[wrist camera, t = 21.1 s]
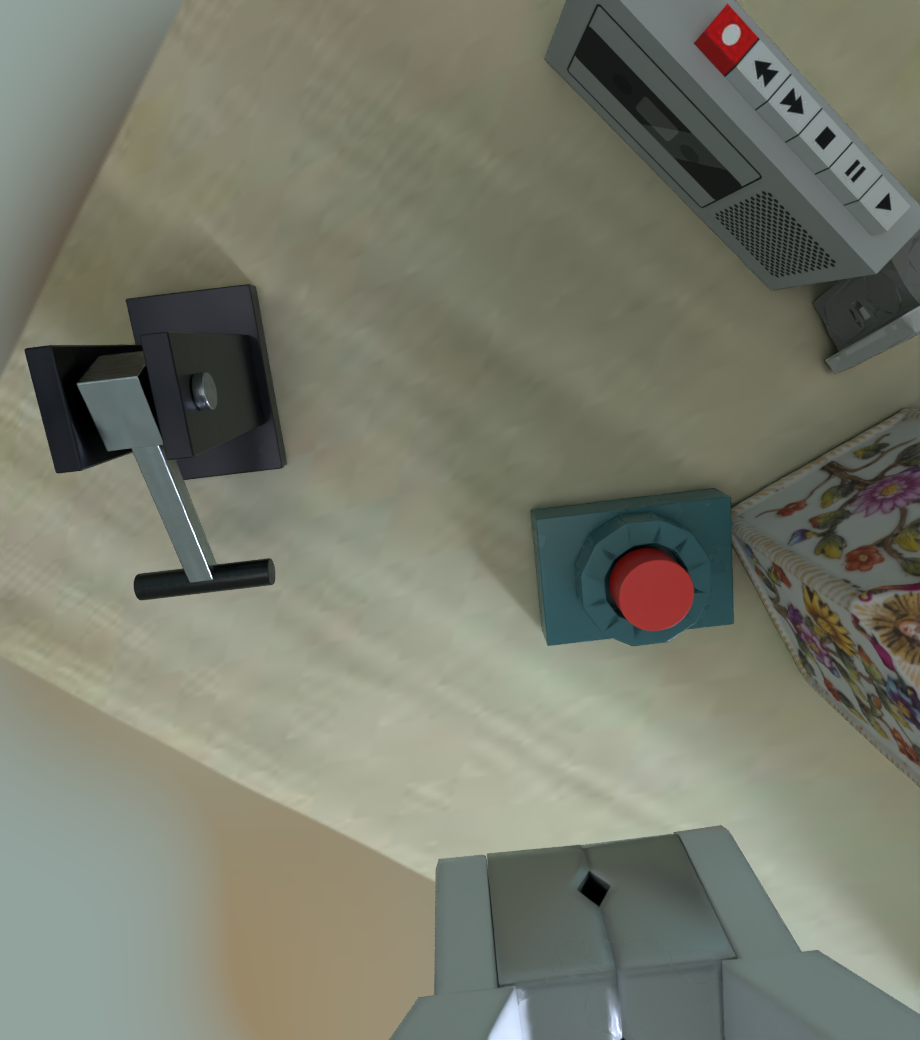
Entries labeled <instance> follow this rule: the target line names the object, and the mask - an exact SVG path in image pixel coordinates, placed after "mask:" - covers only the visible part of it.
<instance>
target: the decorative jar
mask: <svg viewBox="0 0 920 1040" xmlns="http://www.w3.org/2000/svg"><path fill="white" fill-rule="evenodd" d="M731 533H732V545H733V547H734V548H735V550H736V552H737V554H738V556H739V558H740V559H741V561H742V563H743V565H744V567H745V568H746V571H747V573H748V574H749V577H750V579H751V581H752V582H753V584H754V586H755V587H756V589H757V591H758V594H759V596H760V598H761V599H762V602H763V604H764V606H765V607H766V609H767V611H768V612H769V615H770V616H771V618H772V620H773V622H774V624H775V626H776V628H777V629H778V631H779V633H780V635H781V636H782V638H783V640H784V642H785V644H786V646H787V648H788V649H789V651H790V653H791V655H792V657H793V659H794V661H795V663H796V665H797V666H798V668H799V670H800V672H801V674H802V675H803V677H804V678H805V679H806V681H807V682H808V683H809V684H810V685H811V687H812V688H814V690H815V691H817V693H818V694H820V695H821V697H823V698H824V699H825V700H826V701H827V702H828V703H829V704H830V705H831V706H832V707H833V708H834V709H835V710H836V711H837V712H838V713H840V715H841V716H842V717H844V718H845V719H846V720H847V721H848V722H849V723H850V724H851V725H852V726H853V727H854V728H855V729H856V730H858V732H859V733H860V734H862V735H863V736H864V737H865V738H866V739H867V740H868V741H869V742H870V743H871V744H872V745H873V746H874V747H875V748H876V749H878V750H879V751H880V752H881V753H882V754H883V755H884V756H885V757H886V758H887V759H888V760H889V761H891V762H892V763H893V764H894V765H895V766H896V767H897V768H898V769H900V770H901V771H902V772H903V773H904V774H905V775H907V776H908V777H909V778H910V779H911V780H912V781H913V782H915V783H916V784H917V785H918V786H919V787H920V410H914V409H910V408H904V409H902V410H901V411H900V412H898V413H897V414H895V415H893V416H892V417H890V418H888V419H886V420H884V421H882V422H881V423H880V424H878V425H876V426H874V427H872V428H871V429H869V430H867V431H865V432H863V433H861V434H859V435H858V436H856V437H854V438H853V439H851V440H849V441H847V442H846V443H844V444H842V445H840V446H838V447H837V448H835V449H833V450H831V451H829V452H827V453H826V454H824V455H822V456H821V457H819V458H818V459H816V460H814V461H812V462H811V463H809V464H807V465H805V466H803V467H801V468H800V469H798V470H796V471H794V472H792V473H790V474H788V475H786V476H784V477H783V478H782V479H780V480H778V481H776V482H775V483H773V484H771V485H770V486H768V487H766V488H764V489H763V490H761V491H759V492H758V493H756V494H755V495H753V496H751V497H750V498H748V499H746V500H744V501H743V502H741V503H739V504H737V505H736V506H734V507H732V508H731Z"/></svg>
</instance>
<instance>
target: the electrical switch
mask: <svg viewBox="0 0 920 1040" xmlns="http://www.w3.org/2000/svg"><path fill="white" fill-rule="evenodd" d="M913 239H914V240H913ZM912 241H913V242H912ZM812 304H813V306H814V307H815V309H816V310H817V312H818V313H819V315H820V317H821V318H822V320H823V321H824V323H825V325H826V328H827V331H828V334H829V335H830V337H831V338H832V340H833V341H834V343H835V345H836V347H837V349H838V353H836V354H834V355H833V356H831V357H829V358H828V359H826V360H825V361H826V362H827V364H828V365H829V366H830V368H831V369H832V370H833V372H834V373H835V374H836V373H838V372H841V371H844V370H846V369H849V368H851V367H854V366H856V365H858V364H860V363H862V362H864V361H866V360H868V359H870V358H872V357H874V356H876V355H878V354H880V353H882V352H884V351H886V350H888V349H890V348H892V347H894V346H896V345H898V344H900V343H902V342H904V341H906V340H908V339H910V338H912V337H914V336H916V335H918V334H920V229H919V230H918V231H917V232H916V233H915V234H914V235H913V236H912V237H911V238H910V239H909V240H908V241H907V242H906V243H905V244H904V246H903V247H902V248H901V249H900V250H899V251H898V252H897V253H896V254H895V255H894V256H893V257H892V258H891V259H890V260H889V261H888V262H887V263H886V264H885V266H884V267H883V268H882V269H881V270H880V271H879V272H878V273H877V274H873V275H867V276H860V277H854V278H848V279H841V280H840V281H839V282H838V283H837V284H835V285H834V286H833V287H832V288H830V289H829V290H828V291H827V292H825V293H824V294H823V295H822V296H821V297H819V298H818V299H817V300H816V301H814V302H813V303H812Z"/></svg>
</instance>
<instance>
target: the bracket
mask: <svg viewBox="0 0 920 1040" xmlns="http://www.w3.org/2000/svg"><path fill="white" fill-rule="evenodd" d="M126 303H127V307H128V312H129V316H130V321H131V326H132V330H133V335H134V339H135V344H136V345H49V346H41V347H33V348H26V349H25V354H26V358H27V362H28V366H29V370H30V374H31V378H32V382H33V385H34V389H35V393H36V397H37V401H38V405H39V409H40V413H41V417H42V420H43V424H44V428H45V432H46V436H47V440H48V444H49V448H50V452H51V455H52V459H53V463H54V467H55V471H56V473H66V472H75V471H82V470H85V469H88V468H91V467H93V466H96V465H99V464H102V463H105V462H107V461H110V460H113V459H116V458H119V457H121V456H124V455H127V454H130V453H133V451H132V449H123V450H114V451H107V450H106V448H105V446H104V443H103V441H102V439H101V437H100V435H99V433H98V430H97V428H96V426H95V424H94V422H93V419H92V417H91V415H90V413H89V411H88V409H87V406H86V404H85V402H84V400H83V398H82V395H81V393H80V391H79V389H78V387H77V382H78V381H79V380H80V379H81V378H82V376H83V375H84V374H85V373H86V371H87V370H88V369H89V368H90V367H91V365H92V364H93V363H94V362H95V360H96V359H97V358H98V357H99V356H105V355H113V354H121V353H130V352H138V351H143V354H144V358H145V363H146V368H147V372H148V377H149V381H150V386H151V391H152V395H153V400H154V404H155V409H156V413H157V418H158V423H159V427H160V432H161V436H162V441H163V446H164V450H165V455H166V459H167V460H176V462H177V465H178V467H179V470H180V472H181V475H182V477H183V480H188V479H196V478H205V477H213V476H221V475H230V474H238V473H247V472H255V471H263V470H272V469H280V468H283V467H284V466H285V465H287V461H286V456H285V450H284V444H283V439H282V433H281V427H280V422H279V416H278V410H277V405H276V399H275V393H274V388H273V382H272V377H271V371H270V365H269V360H268V354H267V348H266V343H265V337H264V331H263V326H262V320H261V314H260V309H259V303H258V297H257V292H256V287H255V286H253V285H249V284H246V285H238V286H230V287H221V288H213V289H205V290H196V291H188V292H180V293H171V294H163V295H155V296H146V297H138V298H130V299H126Z"/></svg>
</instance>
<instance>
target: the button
mask: <svg viewBox="0 0 920 1040" xmlns="http://www.w3.org/2000/svg"><path fill="white" fill-rule="evenodd" d="M609 588H610V593H611V596H612V598H613V600H614V602H615V603H616V605H617V606H618V608H619V609H620V611H621V612H622V614H623V615H624V617H625V618H626V619H627V620H628V621H629V622H630V623H631V624H633V625H634V626H636V627H638V628H640V629H643V630H648V631H659V630H664V629H667V628H670V627H672V626H674V625H676V624H677V623H678V622H680V621H681V620H682V619H683V618H684V617H685V616H686V614H687V613H688V611H689V610H690V608H691V606H692V602H693V598H694V586H693V582H692V580H691V577H690V576H689V574H688V573H687V572H686V570H685V569H684V568H683V567H681V566H680V565H679V564H678V563H677V562H676V561H675V560H674V559H673V558H672V557H671V556H670V555H668V554H667V553H665V552H663V551H661V550H659V549H655V548H640V549H636V550H633V551H631V552H629V553H627V554H626V555H624V556H623V557H622V558H621V559H620V560H619V561H618V562H617V563H616V565H615V566H614V568H613V570H612V572H611V575H610V581H609Z"/></svg>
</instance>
